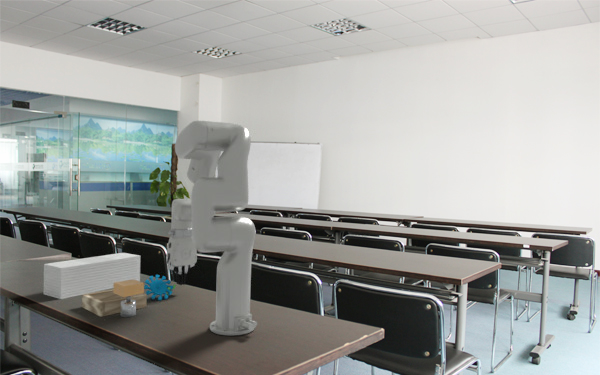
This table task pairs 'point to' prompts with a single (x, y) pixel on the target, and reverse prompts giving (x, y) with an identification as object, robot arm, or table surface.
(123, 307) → the silver metal rounded piece
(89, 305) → the chassis bay
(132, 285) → the block
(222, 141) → the robot arm
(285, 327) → the table surface
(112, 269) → the stack of papers
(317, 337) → the table surface
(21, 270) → the table surface
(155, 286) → the gear
